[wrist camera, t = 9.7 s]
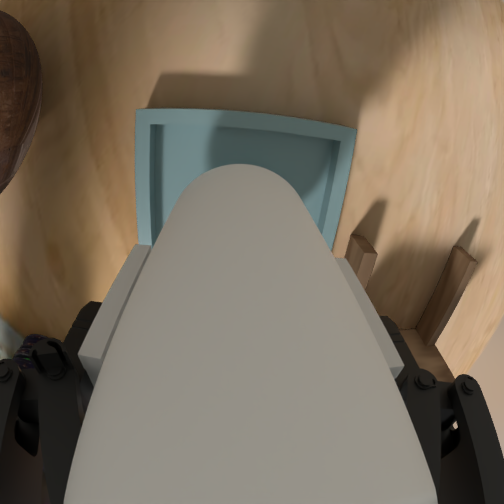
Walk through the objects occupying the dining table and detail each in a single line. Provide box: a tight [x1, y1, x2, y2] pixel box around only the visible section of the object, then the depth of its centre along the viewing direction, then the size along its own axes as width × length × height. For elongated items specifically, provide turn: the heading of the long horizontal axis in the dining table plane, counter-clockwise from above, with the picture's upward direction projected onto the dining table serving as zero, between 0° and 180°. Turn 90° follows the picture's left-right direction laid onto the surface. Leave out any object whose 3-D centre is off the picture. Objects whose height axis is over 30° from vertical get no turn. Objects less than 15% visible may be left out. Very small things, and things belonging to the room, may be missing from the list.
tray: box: [135, 108, 357, 251], centre depth 21 cm, size 14×14×2 cm
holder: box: [345, 235, 477, 383], centre depth 22 cm, size 14×12×10 cm
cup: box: [64, 164, 438, 504], centre depth 11 cm, size 8×8×16 cm
